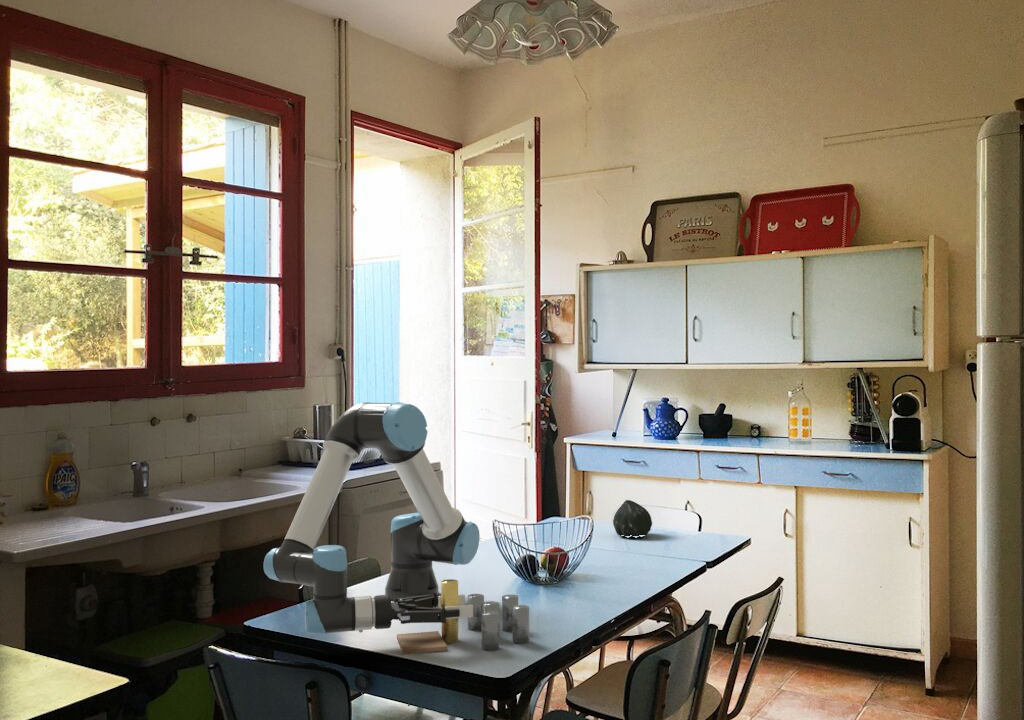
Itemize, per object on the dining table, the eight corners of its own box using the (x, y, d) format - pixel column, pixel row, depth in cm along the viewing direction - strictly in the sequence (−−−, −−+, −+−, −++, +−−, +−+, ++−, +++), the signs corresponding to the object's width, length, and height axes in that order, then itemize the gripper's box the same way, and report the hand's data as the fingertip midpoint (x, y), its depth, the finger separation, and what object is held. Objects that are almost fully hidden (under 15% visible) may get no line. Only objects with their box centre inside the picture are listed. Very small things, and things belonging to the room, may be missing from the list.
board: (396, 638, 208) (396, 634, 208) (438, 635, 211) (438, 631, 211) (403, 654, 197) (403, 649, 197) (446, 650, 199) (446, 646, 199)
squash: (657, 519, 339) (631, 490, 340) (660, 527, 324) (633, 497, 325) (630, 543, 340) (604, 514, 341) (631, 552, 325) (604, 522, 326)
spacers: (466, 626, 218) (466, 594, 218) (513, 622, 221) (512, 591, 221) (484, 651, 198) (483, 616, 198) (534, 647, 201) (534, 612, 201)
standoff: (440, 638, 208) (439, 580, 208) (456, 637, 209) (456, 578, 209) (443, 643, 204) (442, 583, 204) (460, 642, 205) (459, 582, 205)
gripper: (369, 616, 213) (460, 609, 218) (378, 642, 192) (478, 634, 197) (369, 585, 213) (459, 578, 218) (377, 608, 192) (478, 601, 197)
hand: (468, 605), depth 208 cm, fingers open, 9 cm apart
